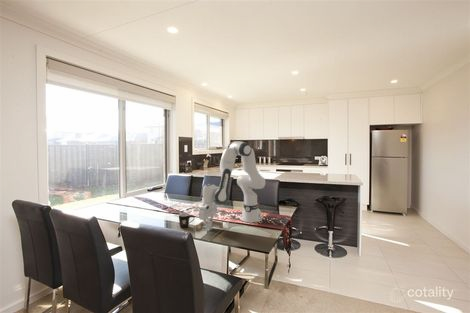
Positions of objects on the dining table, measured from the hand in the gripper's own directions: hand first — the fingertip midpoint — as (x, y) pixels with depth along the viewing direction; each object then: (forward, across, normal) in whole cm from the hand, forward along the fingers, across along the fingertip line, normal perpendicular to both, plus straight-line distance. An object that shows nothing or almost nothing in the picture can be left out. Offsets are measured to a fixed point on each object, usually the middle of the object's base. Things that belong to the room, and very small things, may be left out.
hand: (208, 221), depth 184 cm
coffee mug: (+5, +6, -17) cm, 19 cm away
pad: (+5, +2, 0) cm, 5 cm away
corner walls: (+5, +1, +1) cm, 5 cm away
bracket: (+5, +2, 0) cm, 5 cm away
